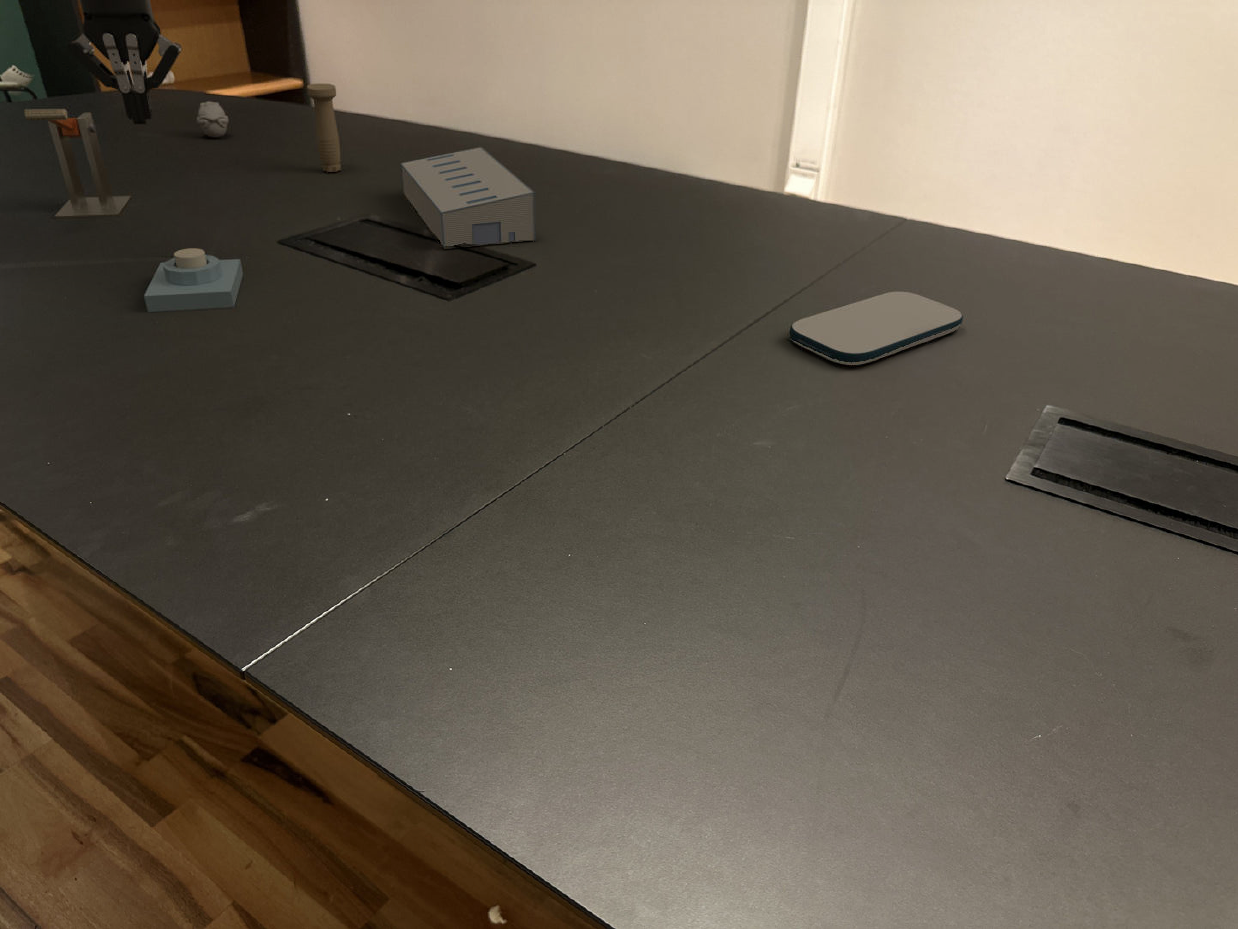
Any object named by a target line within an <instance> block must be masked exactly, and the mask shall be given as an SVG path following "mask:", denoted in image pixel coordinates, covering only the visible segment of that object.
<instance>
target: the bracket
mask: <svg viewBox="0 0 1238 929" xmlns="http://www.w3.org/2000/svg"><path fill="white" fill-rule="evenodd" d="M76 118H77V121H78V125H79V129H80V132H81V136H82V138H81V140H82V143H83V146H84V150H85V154H86V158H87V162H88V165H89V168H90V173H91V176H92V181H93V185H94V187H95V190H96V191H95V192H96V194H97V196H88V197H86V194H85V190H84V186H83V183H82V180H81V176H80V172H79V169H78V166H77V161H76V158H75V155H74V151H73V147H72V143H71V140H70V138H69V137H67V136H64V135H63V132H62V127H60V126H58V125H55V124H53V123H51V122H49V121H47V123H48V124H47V125H48V129H49V132H50V134H51V138H52V140H53V144H54V148H55V152H56V156H57V158H58V162H59V165H60V169H61V173H62V176H63V179H64V183H65V186H66V190H67V193H68V197H69V199H68V200H67V201H66V203H65V204H64V205H62V207H61V208H60V209H59V211H57V213H56V214H55V215H54V219H55V220H61V219H62V220H64V219H67V220H68V219H91V218H92V219H94V218H118V217H120V216H121V215H122V214H123V212H124V210H125V209H126V207H128V205H129V204H130V202H131V201H132V196H131V195H121V196H118V195H117V196H113V192H112V188H111V184H110V181H109V177H108V173H107V168H106V165H105V162H104V158H103V153H102V150H101V146H100V142H99V138H98V134H97V127H96V125H95V123H94V119H93V116H92V112H83V113H82V114H81V115H79V116H78V117H76Z"/></svg>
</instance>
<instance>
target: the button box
mask: <svg viewBox="0 0 1238 929" xmlns="http://www.w3.org/2000/svg"><path fill="white" fill-rule="evenodd" d="M205 256H206V261H207V265H205V266H202V267H197V268H189V269H183V268H177V266H176V262H175V258H174V257H172V258H171V259H168V260H167V261H165V262H160V263H159V265H158V267H157V269H156V271H155V273H154V275H153V276H152V280H151V281H150V283H149V285H148V286H147V289H146V291H145V292H144V295H143V299H144V301H145V302H144V303H145V306H146V309H147V313H158V312H159V313H160V312H175V311H192V310H212V309H227V308H228V309H229V308H235V306H236V301H237V297H238V294H239V291H240V286H241V283H242V280H243V277H244V276H243V275H244V271H243V267H242V262H241V259H240V258H235V259H234V258H233V259H219V258H218V257H216V256H214V255H212V254H211V255H210V254H205Z"/></svg>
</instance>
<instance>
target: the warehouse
mask: <svg viewBox="0 0 1238 929" xmlns="http://www.w3.org/2000/svg"><path fill="white" fill-rule="evenodd" d="M400 171H401V173H400V174H401V175H400V176H401V185H402V194H403V193H404V194H405V195H406V197H407V198H408V199H409V200H410V202H411V204H413V206H414V208H415V209H416V210H417V211H418V213H419V215H420V216H422V218H423V220H424V222H426V224H427V226H428V227H429V228H430V229H431V231H432V232H433V233H434V234H436V236H437V237H438V239H439V240H440V242H441V244H442V245H443V246H454V245H458V244H463V243H466V244H485V243H486V244H487V243H495V242H496V243H497V242H510V241H519V240H535V241H536V202H535V201H536V199H535V198H536V196H535V195H536V194H535V191H534V190H533V189H532V188H530V187H529V186H528V185H526V183H525V182H523V181H522V179H519V178H518V176H516V175H515V174H514V173H512V172H511V171H510V170H509V169H508V168H507V167H506V166H504V165H503V164H502V163H501V162H500V161H498V160H497V159H496V158H495V157H494V156H493V155H491V154H490V153H489V152H488V151H487V150H485V149H484V148H483V147H482V146H479V147H474V148H470V149H463V150H459V151H454V152H449V153H445V154H440V155H435V156H430V157H425V158H421V159H415V160H410V161H405V162H401V163H400ZM424 222H423V223H424ZM427 226H426V227H427Z"/></svg>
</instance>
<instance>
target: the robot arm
mask: <svg viewBox="0 0 1238 929" xmlns="http://www.w3.org/2000/svg"><path fill="white" fill-rule="evenodd" d="M79 2H80V6H81V11H82V14H83V22H82V27H81V30H82V34H81V35H80V36H79V37H78V38H77V39H76V40H74V41H71V42H70V43H68V45H67V50H68V52H69V53H70V54H71V55H72V56H73V57H74V58H75V59H76V60H77V61H78V62H79V63H81V65H83V66H84V67H85V68H86V70H87V71H89V72H90V74H92V75H93V77H95V78H96V79H97V80H98V82H100V83H101V84H102V85H103V86H104V87H106V88H111V89H115V90H117V91H119V92H120V94H121V96H122V100H123V106H124V109H125V114H126V117H127V118H128V120H132V121H133V124H134V125H148V124H149V123H150V120H151V119H152V118H153V117H154V111H153V105H152V101H151V96H150V90H153V89H157V88H159V87H160V86H161V85H162V84H163V82H164V81H165V79H166V77H167V76H168V74H169V73H170V71H171V69H172V68H173V66H174V64H175V63H176V60H177V59H178V58H179V56H180V54H181V53H182V50H183V48H182V46H181V45H180V43H177V42H172V41H171V40H170V39H168V38H167V37H166V36H164V35H163V34H162V31H161V28H160V26H159V25H158V23H157V22H156V20H155V18H154V14H153V8H152V4H151V0H79ZM157 45H158V50H157V51H158V54H159V56H160V57H161V59H160V61H159V62H158V64H157V65H156V68H155V69H154V71H153V73H152V74H151V75H149V76H148V64H147V61H148V59H150V57H151V55H152V53H153V52H154V50H155V47H156V46H157ZM93 46H94V47H95V48H96V49H97V50H98V52H100V53H101V54H102V56H103V57H105V58H106V59H107V61H109V62H110V66H111V68H112V70H111V69H110V68H109V67H108V66H106V64H104V63H103V62H102V61H101V60H100V59H99V58H98V57H97V56H96V54H94V53H95V48H94V47H93Z"/></svg>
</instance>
